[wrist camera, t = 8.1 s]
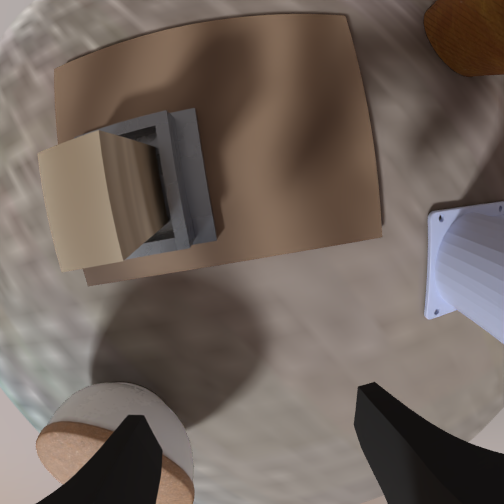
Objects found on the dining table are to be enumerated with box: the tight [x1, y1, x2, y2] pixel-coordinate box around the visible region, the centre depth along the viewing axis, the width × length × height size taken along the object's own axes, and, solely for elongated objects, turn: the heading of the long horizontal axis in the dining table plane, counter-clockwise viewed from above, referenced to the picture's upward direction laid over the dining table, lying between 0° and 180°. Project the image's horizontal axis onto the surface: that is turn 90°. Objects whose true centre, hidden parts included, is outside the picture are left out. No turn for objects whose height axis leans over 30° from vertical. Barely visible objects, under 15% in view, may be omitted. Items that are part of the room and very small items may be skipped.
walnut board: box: [54, 14, 382, 286], centre depth 15 cm, size 18×14×1 cm
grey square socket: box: [74, 108, 217, 260], centre depth 14 cm, size 7×7×3 cm
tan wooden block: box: [38, 130, 168, 272], centre depth 11 cm, size 2×4×7 cm, turn 9°
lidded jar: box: [36, 382, 194, 504], centre depth 16 cm, size 11×11×9 cm
